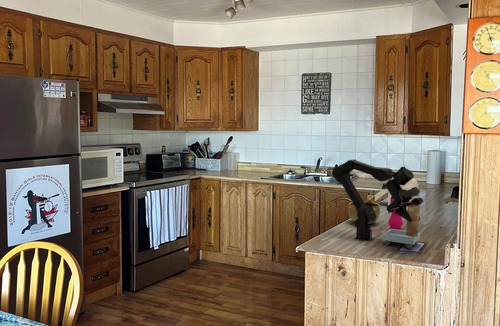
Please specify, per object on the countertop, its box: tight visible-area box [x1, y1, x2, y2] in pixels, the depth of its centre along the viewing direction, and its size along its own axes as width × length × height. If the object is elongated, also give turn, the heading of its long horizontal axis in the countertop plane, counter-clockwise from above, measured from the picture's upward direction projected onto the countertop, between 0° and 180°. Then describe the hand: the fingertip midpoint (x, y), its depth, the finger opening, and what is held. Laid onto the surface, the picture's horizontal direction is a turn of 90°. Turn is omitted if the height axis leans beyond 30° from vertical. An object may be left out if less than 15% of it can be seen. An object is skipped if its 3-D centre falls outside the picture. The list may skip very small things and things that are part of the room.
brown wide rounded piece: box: [347, 194, 381, 223], centre depth 264 cm, size 22×17×15 cm
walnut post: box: [405, 205, 421, 237], centre depth 211 cm, size 5×5×13 cm
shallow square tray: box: [381, 229, 422, 250], centre depth 222 cm, size 14×12×5 cm
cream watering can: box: [374, 177, 420, 210], centre depth 316 cm, size 19×30×18 cm, turn 56°
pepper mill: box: [387, 199, 404, 231], centre depth 247 cm, size 7×7×20 cm
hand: (415, 221), depth 209 cm, fingers closed on walnut post, 5 cm apart
